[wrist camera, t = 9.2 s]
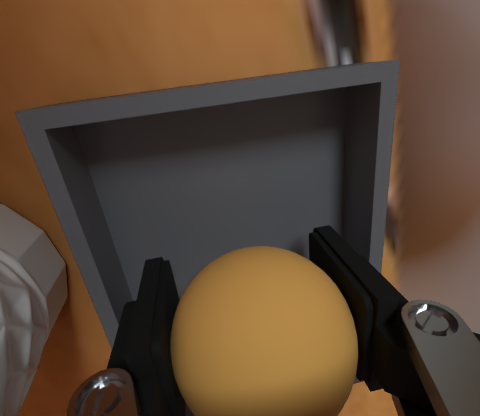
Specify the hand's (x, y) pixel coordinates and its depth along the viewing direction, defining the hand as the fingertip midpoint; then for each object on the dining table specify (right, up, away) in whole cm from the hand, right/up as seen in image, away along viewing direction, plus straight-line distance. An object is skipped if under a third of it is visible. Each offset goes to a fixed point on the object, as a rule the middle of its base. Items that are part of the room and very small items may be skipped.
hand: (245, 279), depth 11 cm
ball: (0, -1, -2) cm, 3 cm away
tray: (0, +1, +2) cm, 2 cm away
